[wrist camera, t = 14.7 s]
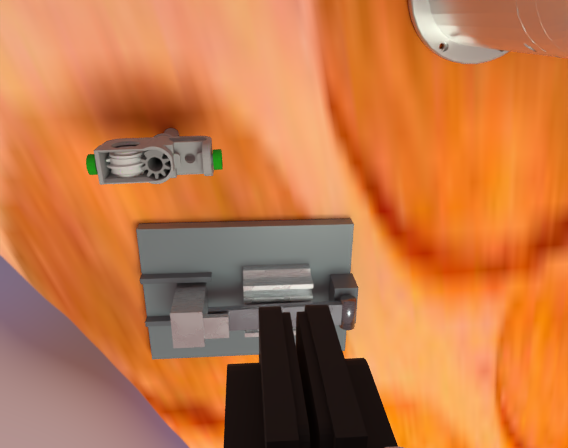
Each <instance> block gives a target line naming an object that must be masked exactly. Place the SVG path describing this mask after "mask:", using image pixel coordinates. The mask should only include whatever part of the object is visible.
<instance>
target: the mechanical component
mask: <svg viewBox="0 0 568 448" xmlns="http://www.w3.org/2000/svg"><path fill="white" fill-rule="evenodd" d="M177 136H179V133H178V131H177V130H176V129H174V128H169V129H167V130H165V132H164V133H162V134H158V135H156V136H154V137H153V138H125V139H114V140H109V141H106V142H105V143H104V144H102V145H100V146H98V147H97V148H96V149H95V150H94V154H89V155H88V156H87V159H86V165H87V170H88V173H89V174H90V175H95V174H98V177H99V183H100V184H122V183H146V182H149V183H152V184H160V183H163V182H165V181H167V180H168V179H169V178H176V177H177V175H184V174H204V175H205V176H213V172H214V170H219V169H222V151H221V149H218V150H213V154H212V141H211V137H208V136H180V137H177ZM213 166H214V167H213Z"/></svg>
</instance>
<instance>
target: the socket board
mask: <svg viewBox="0 0 568 448" xmlns="http://www.w3.org/2000/svg"><path fill="white" fill-rule="evenodd" d="M353 228H354V224H353V222H352V220H351V219H312V220H270V221H227V222H185V223H142V224H139V225H138V227H137V229H136V231H137V239H138V247H139V255H140V264H141V272H142V275H141V278H140V283H141V284H143V288H144V296H145V304H146V312H147V318H146V321H145V323H146V327H148V329H149V337H150V345H151V353H152V359H169V358H191V357H213V356H236V355H258V354H259V337H245V330H238V331H229V338H216V339H206V340H205V347H193V348H173V339H172V329H171V319H170V311H171V307H172V303H173V299H174V295H175V290H176V286H177V283H195V282H207V297H208V307H219V306H240V305H244V291H243V266H264V265H297V264H309V265H310V273H311V277H312V281H313V288H311V290H312V294H313V300H311V302H322V301H340V298H341V296H343V295H352V296H354V297H356V309H357V297H358V286H357V284H356V281H355V279H354V277H353V274H352V273H351V274H350V270H351V256H352V242H353ZM355 322H356V312H355ZM335 329H336V332H337V335H338V339H339V342H340V345H341V349H342V351H345V340H346V330H343V329H341V328H340V327H339V325H335ZM294 339H295V345H296V335H294Z"/></svg>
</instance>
